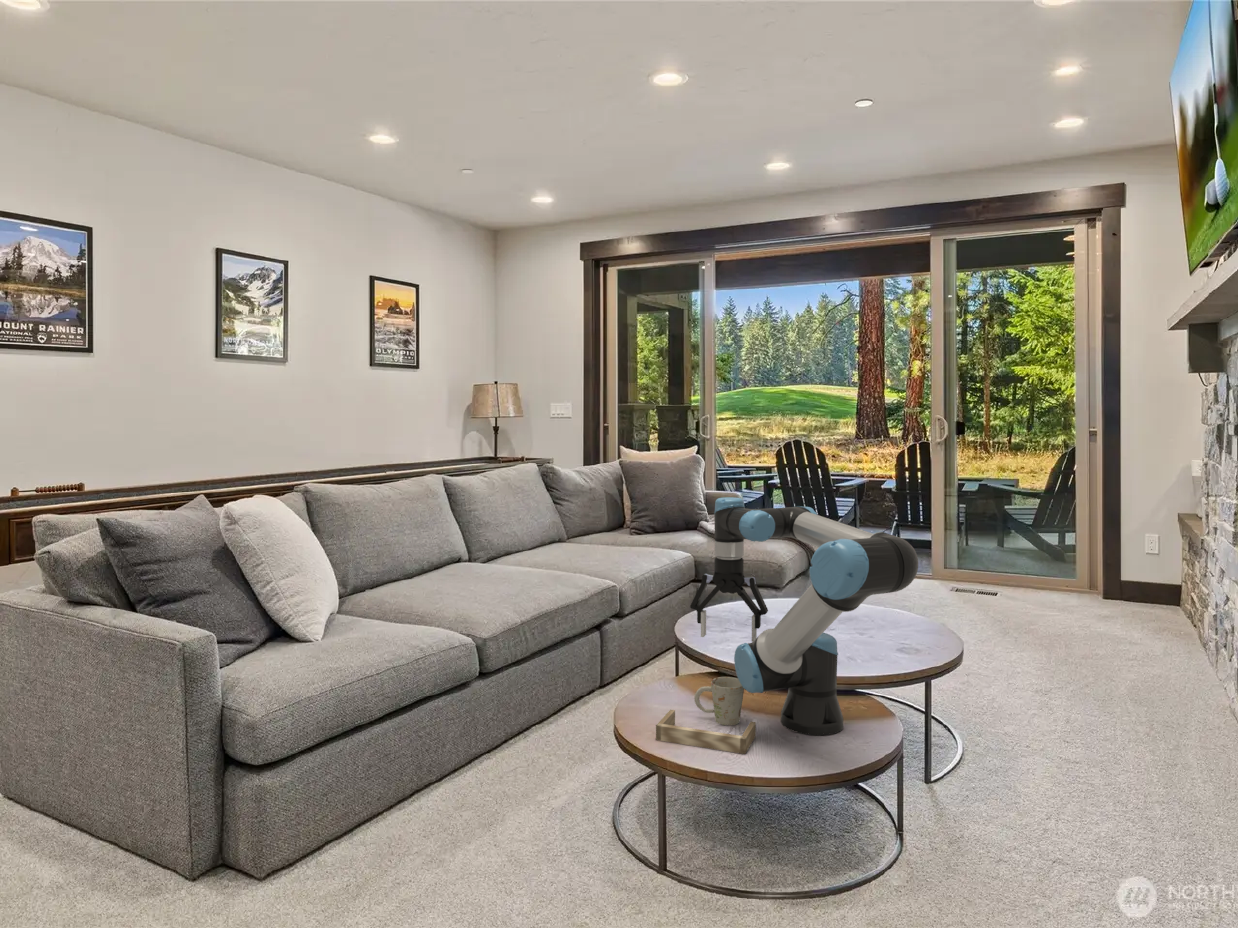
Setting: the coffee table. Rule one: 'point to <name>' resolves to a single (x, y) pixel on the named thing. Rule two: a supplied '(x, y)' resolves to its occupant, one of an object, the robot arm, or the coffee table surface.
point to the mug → (724, 699)
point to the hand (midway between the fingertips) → (728, 638)
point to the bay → (704, 736)
